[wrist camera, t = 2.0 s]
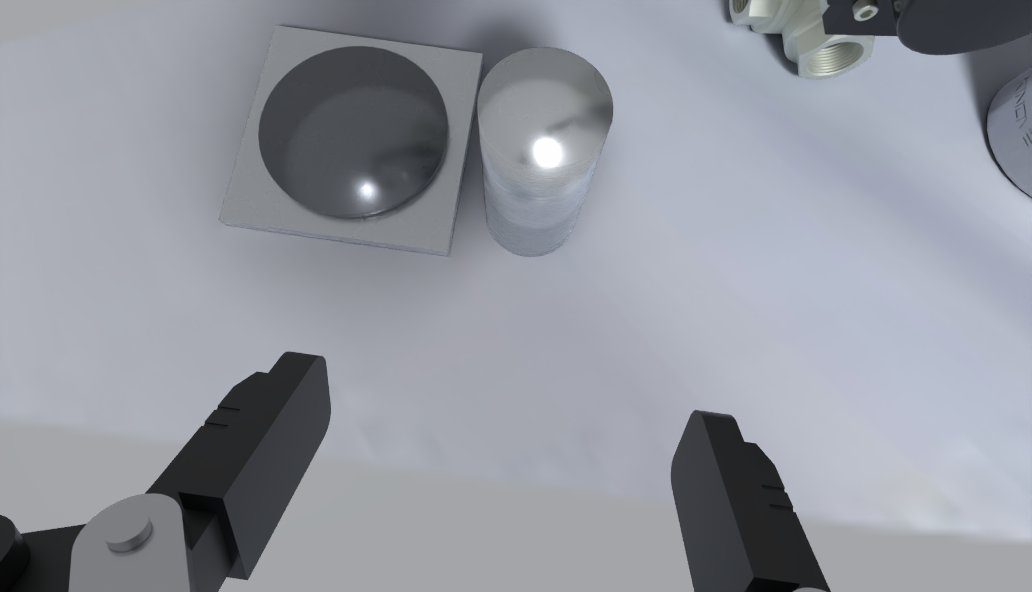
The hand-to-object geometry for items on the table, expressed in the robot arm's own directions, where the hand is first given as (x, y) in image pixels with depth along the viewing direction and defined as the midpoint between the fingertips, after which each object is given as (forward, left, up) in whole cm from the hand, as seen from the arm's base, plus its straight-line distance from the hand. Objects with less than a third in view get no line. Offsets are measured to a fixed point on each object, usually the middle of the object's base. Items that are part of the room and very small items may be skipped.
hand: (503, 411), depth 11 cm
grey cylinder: (0, -11, -14) cm, 18 cm away
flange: (+10, -14, -14) cm, 22 cm away
